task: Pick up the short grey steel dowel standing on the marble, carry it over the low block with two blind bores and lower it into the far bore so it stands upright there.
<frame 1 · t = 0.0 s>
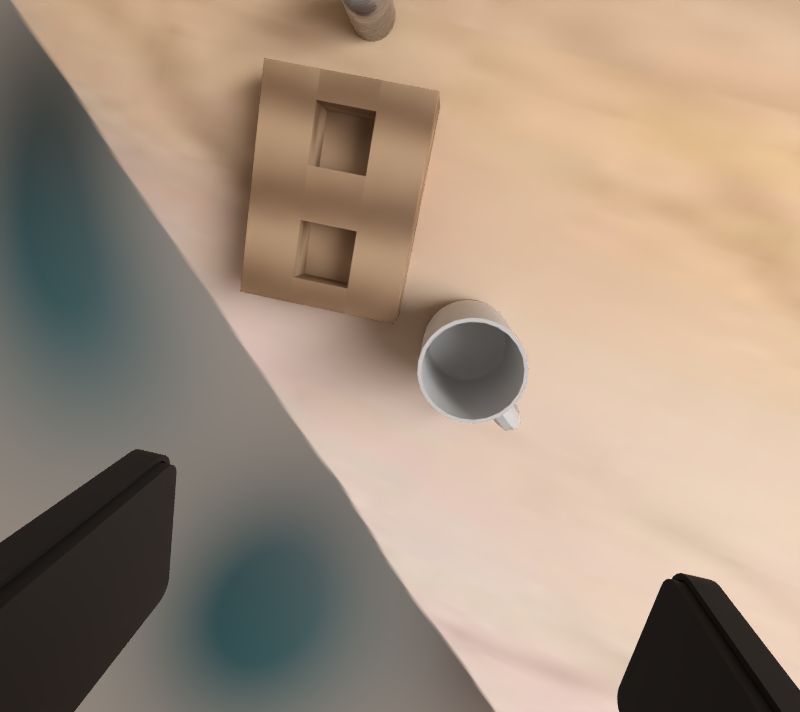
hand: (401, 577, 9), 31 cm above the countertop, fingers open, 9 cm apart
cup: (475, 354, 40), on the countertop
bore block: (344, 201, 37), on the countertop
dowel: (373, 15, 34), on the countertop
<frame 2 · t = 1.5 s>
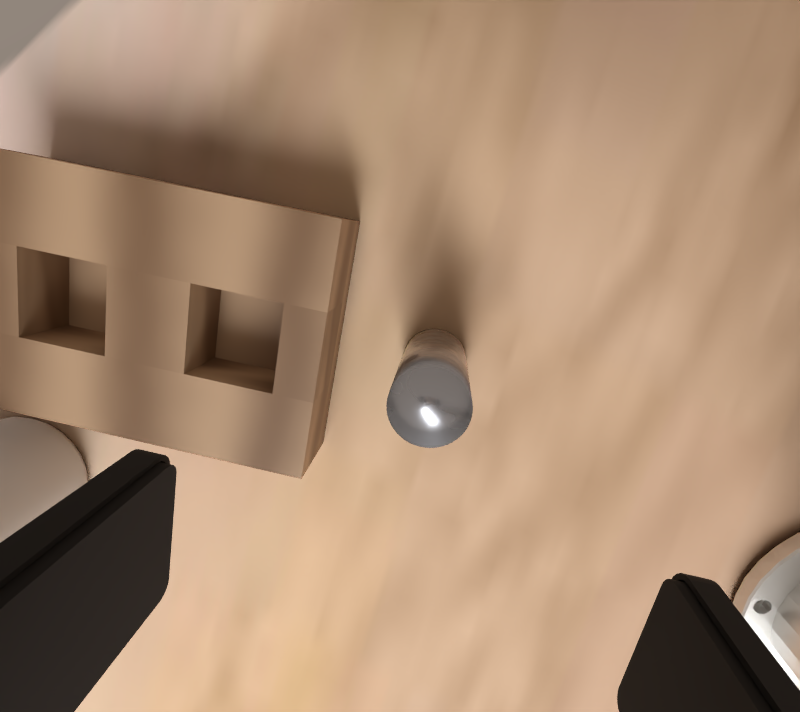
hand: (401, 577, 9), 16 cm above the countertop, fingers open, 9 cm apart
cup: (24, 478, 29), on the countertop
bore block: (193, 307, 25), on the countertop
dowel: (434, 359, 24), on the countertop
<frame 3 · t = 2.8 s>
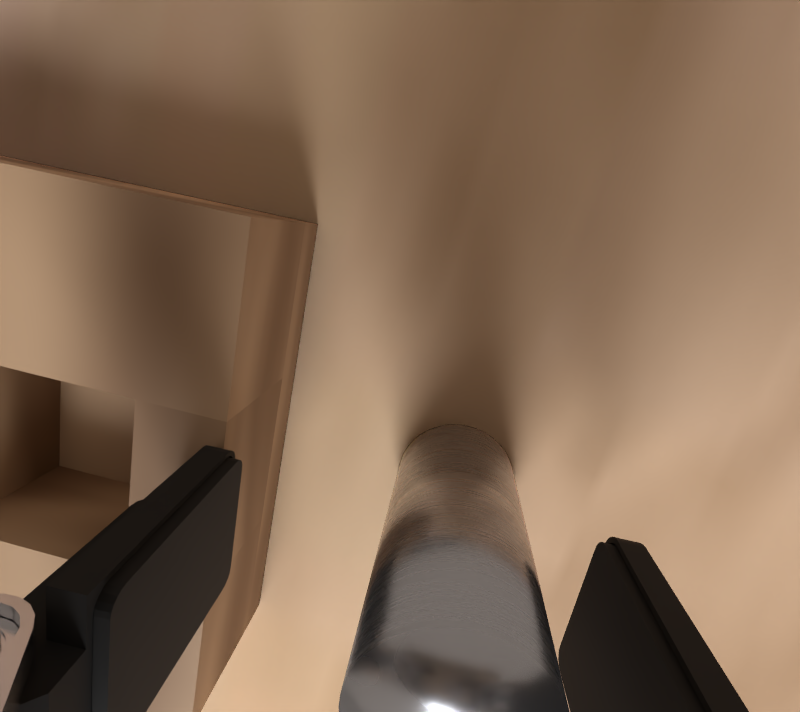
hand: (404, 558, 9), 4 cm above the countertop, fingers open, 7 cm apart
bore block: (28, 372, 14), on the countertop
dowel: (455, 477, 13), on the countertop
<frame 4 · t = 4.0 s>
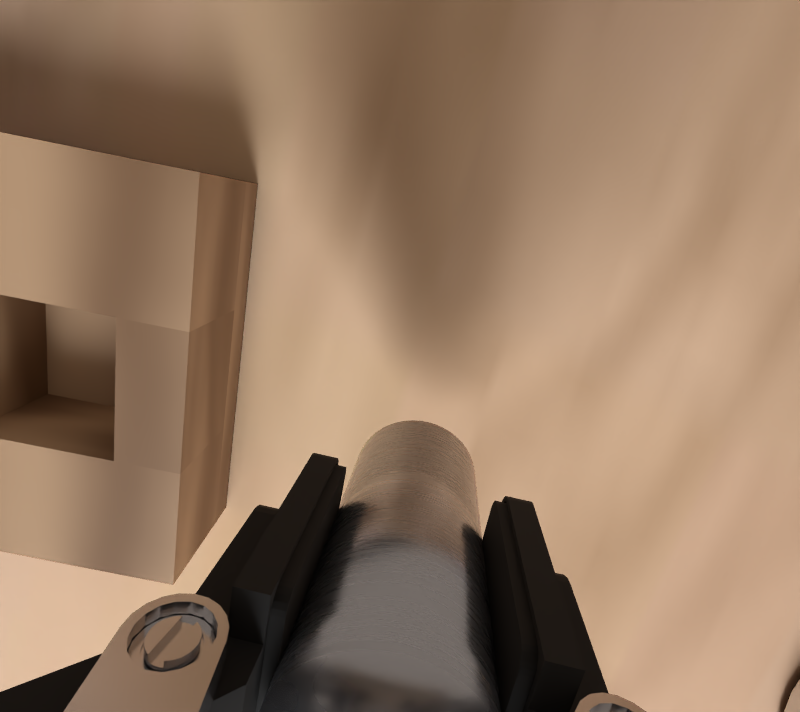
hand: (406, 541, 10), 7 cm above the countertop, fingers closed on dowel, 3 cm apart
bore block: (14, 317, 16), on the countertop
dowel: (414, 475, 13), point 4 cm above the countertop, touching gripper
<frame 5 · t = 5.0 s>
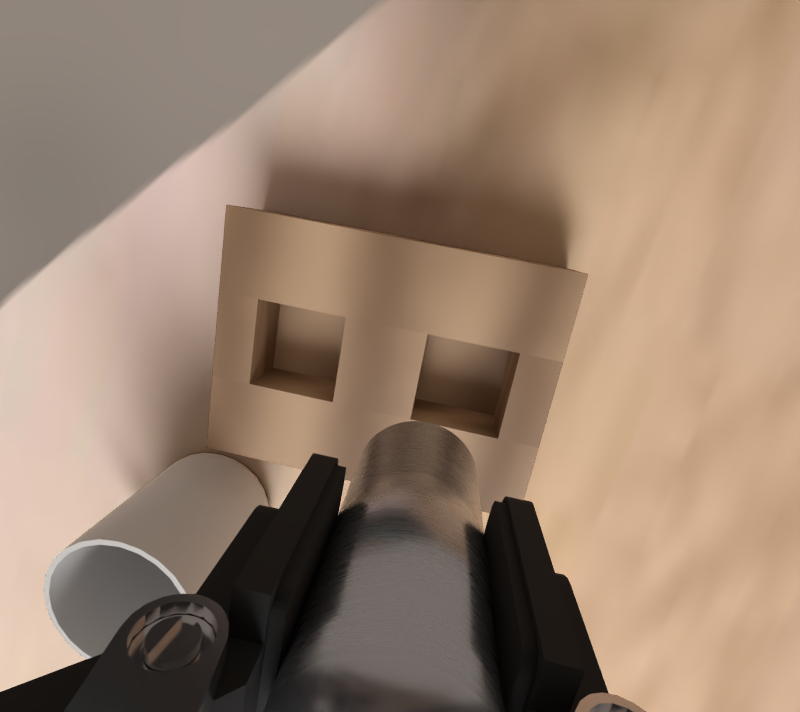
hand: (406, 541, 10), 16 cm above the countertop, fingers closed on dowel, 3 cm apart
cup: (203, 510, 30), on the countertop
bore block: (390, 349, 26), on the countertop
dowel: (416, 476, 13), point 13 cm above the countertop, touching gripper
when the fingers open (6 cm above the countertop, at t = 7.0 s): dowel drops 2 cm, resting on bore block.
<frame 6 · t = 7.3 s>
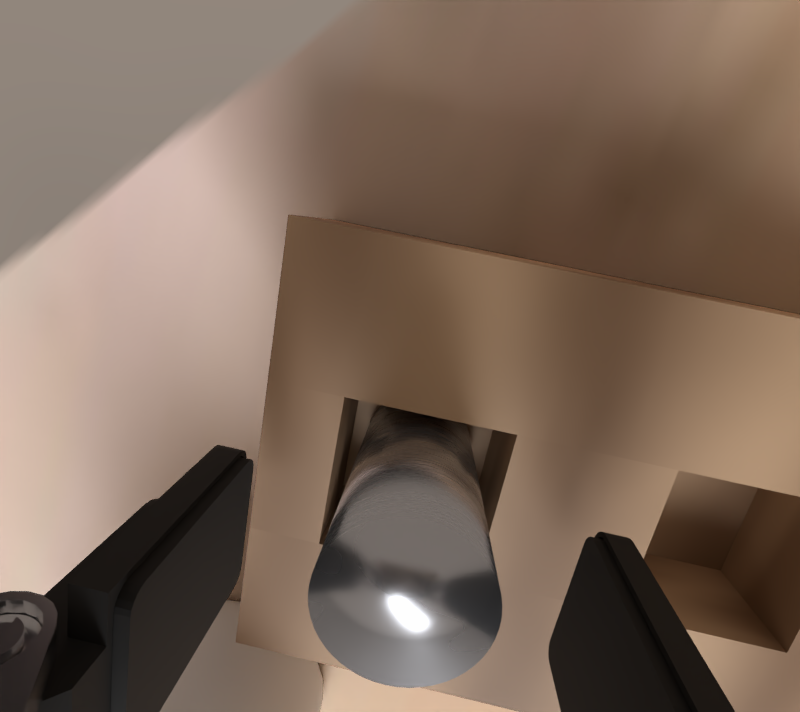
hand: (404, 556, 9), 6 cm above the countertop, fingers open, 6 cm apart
cup: (216, 676, 20), on the countertop
bore block: (540, 454, 15), on the countertop
dowel: (417, 442, 15), point 1 cm above the countertop, touching bore block
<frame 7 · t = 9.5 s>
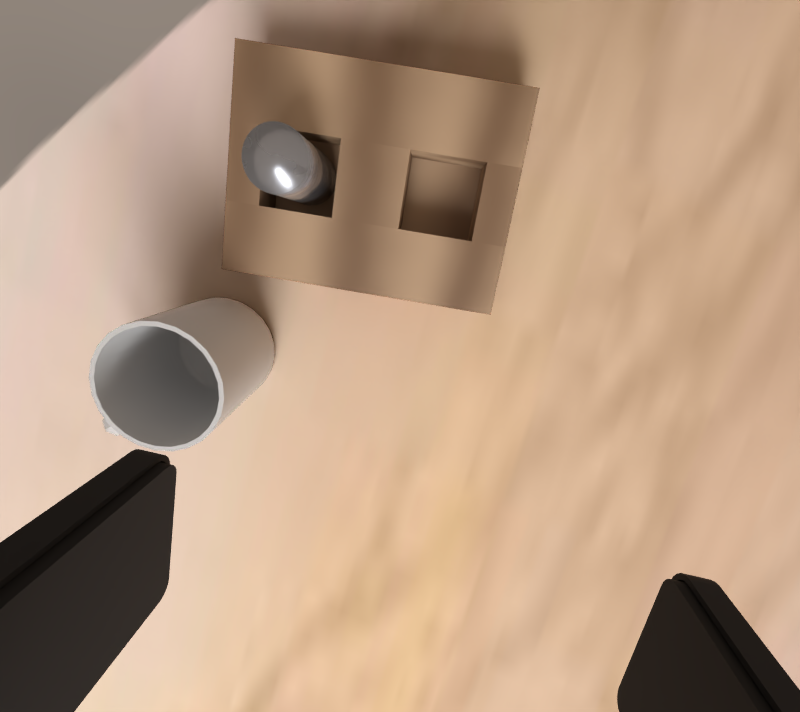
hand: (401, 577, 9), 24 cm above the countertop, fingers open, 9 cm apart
cup: (213, 357, 34), on the countertop
bore block: (377, 190, 30), on the countertop
dowel: (310, 178, 29), point 1 cm above the countertop, touching bore block
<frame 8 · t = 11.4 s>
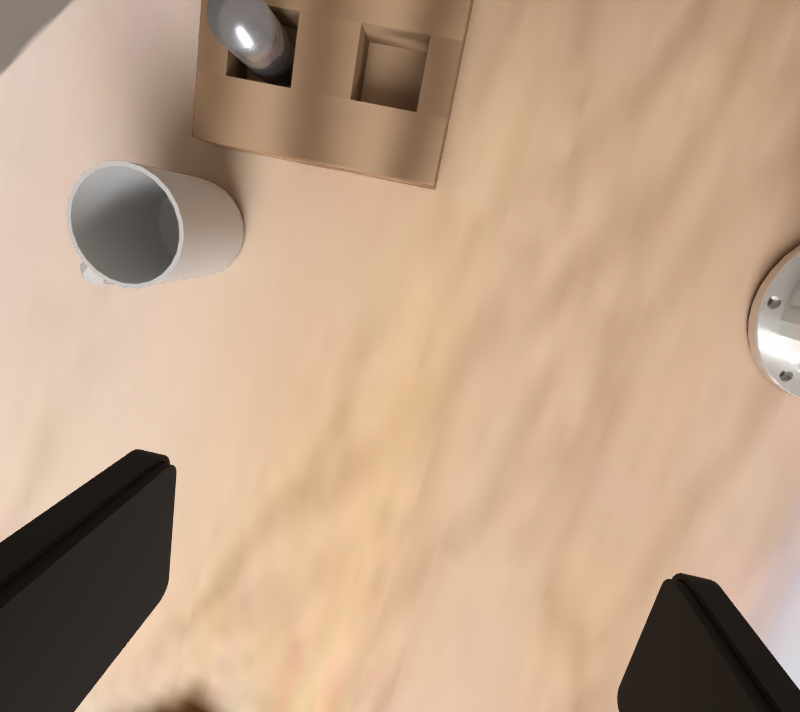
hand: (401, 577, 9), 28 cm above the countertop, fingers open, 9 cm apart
cup: (189, 238, 37), on the countertop
bore block: (339, 76, 32), on the countertop
dowel: (277, 61, 32), point 1 cm above the countertop, touching bore block
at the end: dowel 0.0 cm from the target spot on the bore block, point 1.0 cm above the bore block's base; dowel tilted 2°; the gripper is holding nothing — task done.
